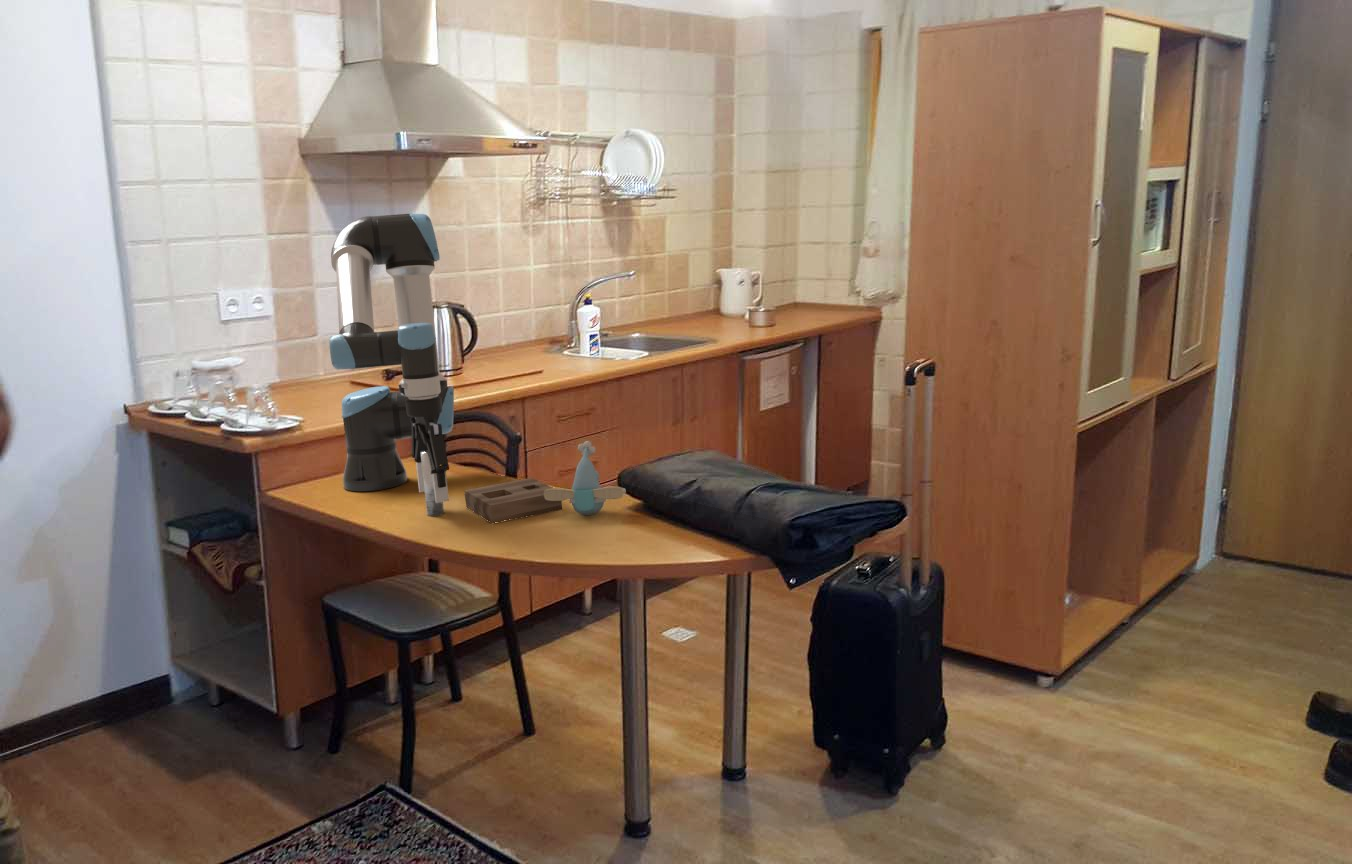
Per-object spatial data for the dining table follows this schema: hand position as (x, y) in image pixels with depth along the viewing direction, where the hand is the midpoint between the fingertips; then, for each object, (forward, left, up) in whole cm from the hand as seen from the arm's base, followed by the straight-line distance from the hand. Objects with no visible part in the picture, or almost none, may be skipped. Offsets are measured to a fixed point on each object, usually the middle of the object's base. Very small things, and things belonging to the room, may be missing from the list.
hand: (433, 496), depth 241 cm
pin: (0, 0, -4) cm, 4 cm away
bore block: (+8, +15, -4) cm, 17 cm away
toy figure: (+23, +26, -4) cm, 35 cm away
